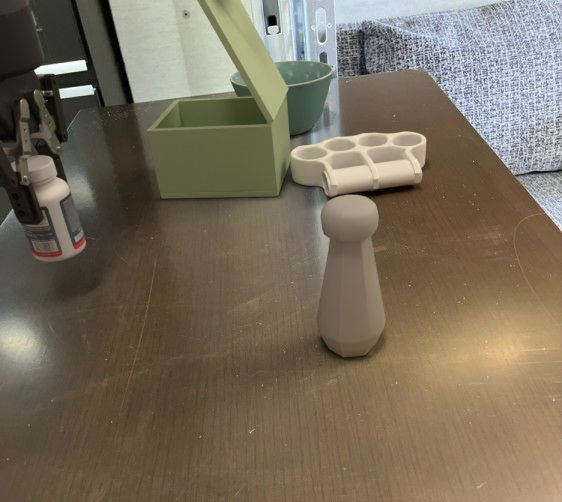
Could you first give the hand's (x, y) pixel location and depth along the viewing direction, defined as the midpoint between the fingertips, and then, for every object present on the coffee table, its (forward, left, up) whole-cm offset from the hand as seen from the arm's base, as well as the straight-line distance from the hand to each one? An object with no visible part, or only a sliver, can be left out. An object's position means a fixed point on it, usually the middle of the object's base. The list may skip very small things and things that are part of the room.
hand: (45, 208), depth 59 cm
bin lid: (+14, +29, +7) cm, 33 cm away
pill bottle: (0, 0, -5) cm, 5 cm away
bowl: (+15, +49, -9) cm, 52 cm away
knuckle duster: (+28, +29, -9) cm, 42 cm away
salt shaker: (+29, -8, -9) cm, 32 cm away
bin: (+10, +29, -9) cm, 32 cm away
